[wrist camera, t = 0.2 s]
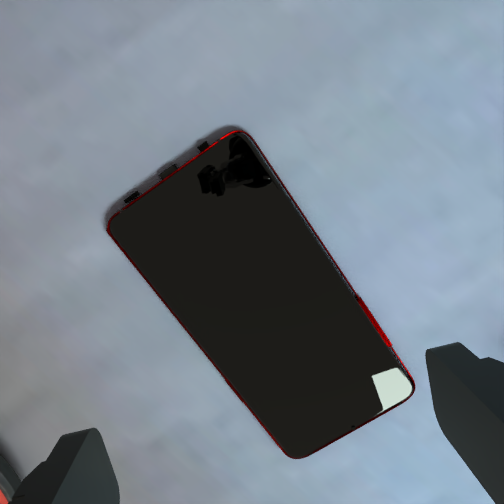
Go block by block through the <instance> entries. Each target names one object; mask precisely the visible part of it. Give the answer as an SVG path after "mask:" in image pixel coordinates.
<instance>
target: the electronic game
mask: <svg viewBox="0 0 504 504" xmlns="http://www.w3.org/2000/svg"><path fill="white" fill-rule="evenodd" d="M20 484H21V481H20V479H19V478H18V476H17V475H16V473H15V472H14V470H13V469H12V468H11V466H10V465H9V464H8V463H7V462H6V461H5V459H4V458H3V457H2V456H1V455H0V504H8V503H9V501H12V496H13V495H14V493H15V492H16V490H17V489H18V487H19V486H20Z"/></svg>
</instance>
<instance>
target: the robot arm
mask: <svg viewBox="0 0 504 504" xmlns="http://www.w3.org/2000/svg"><path fill="white" fill-rule="evenodd" d="M425 356H426V364H427V370H428V376H429V382H430V388H431V394H432V400H433V406H434V411H435V414H436V418H437V420H438V423H439V425H440V428H441V430H442V432H443V433H444V435H445V436H446V438H447V439H448V440H449V442H450V443H451V445H452V446H453V447H454V449H455V450H456V451H457V453H458V454H459V455H460V457H461V458H462V459H463V461H464V462H465V463H466V465H467V466H468V467H469V469H470V470H471V471H472V473H473V474H474V475H475V477H476V478H477V479H478V481H479V482H480V483H481V485H482V486H483V488H484V489H485V490H486V492H487V493H488V494H489V496H490V497H491V498H492V500H493V501H494V502H495V504H504V363H503V362H501V361H498V360H495V359H493V358H490V357H487V358H483V359H479V358H478V357H477V356H476V355H474V354H473V353H472V352H471V351H470V350H468V349H467V348H466V347H465V346H464V345H462V344H461V343H459V342H456V343H452V344H448V345H443V346H439V347H435V348H431V349H427V350H426V355H425ZM119 503H120V494H119V486H118V482H117V479H116V476H115V473H114V471H113V468H112V465H111V462H110V459H109V456H108V454H107V451H106V448H105V445H104V442H103V439H102V437H101V434H100V432H99V431H98V430H97V429H96V428H90V429H86V430H82V431H78V432H73V433H69V434H65V435H62V436H61V437H60V439H59V440H58V442H57V444H56V445H55V447H54V449H53V450H52V452H51V453H50V455H49V457H48V458H47V460H46V461H44V462H41V463H40V464H39V465H38V466H37V467H36V468H35V469H34V470H33V471H32V472H31V473H30V474H29V475H28V476H27V477H26V478H24V479H23V481H22V482H21V484H20V486H19V487H18V489H17V490H16V492H15V493H14V495H13V496H12V501H9V503H8V504H119Z"/></svg>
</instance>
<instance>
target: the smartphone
mask: <svg viewBox="0 0 504 504" xmlns="http://www.w3.org/2000/svg"><path fill="white" fill-rule="evenodd" d="M239 132H242V133H245V134H247V135H248V136H249V137H250V138H251V139H252V141H253V142H254V143H255V145H256V146H257V148H258V149H259V151H260V152H261V154H262V155H263V157H264V158H265V160H266V161H267V163H268V164H269V166H270V167H271V169H272V170H273V172H274V173H275V175H276V176H277V178H278V179H279V181H280V182H281V184H282V185H283V187H284V188H285V190H286V191H287V193H288V194H289V196H290V197H291V199H292V200H293V202H294V203H295V205H296V206H297V208H298V209H299V211H300V212H301V214H302V215H303V217H304V218H305V220H306V221H307V223H308V224H309V226H310V227H311V229H312V230H313V232H314V233H315V235H316V236H317V238H318V239H319V241H320V242H321V244H322V245H323V247H324V248H325V250H326V251H327V253H328V254H329V256H330V257H331V259H332V260H333V262H334V263H335V265H336V266H337V268H338V269H339V271H340V272H341V274H342V275H343V277H344V278H345V280H346V281H347V283H348V284H349V286H350V287H351V289H352V290H353V292H354V293H355V295H356V296H357V298H358V299H356V298H355V296H354V295H353V293H352V292H351V290H350V289H349V287H348V286H347V284H346V283H345V281H344V280H343V278H342V277H341V275H340V274H339V272H338V271H337V269H336V268H335V266H334V265H333V263H332V262H331V260H330V259H329V257H328V256H327V254H326V253H325V251H324V250H323V248H322V247H321V245H320V244H319V242H318V241H317V239H316V238H315V236H314V235H313V233H312V232H311V230H310V229H309V227H308V226H307V224H306V223H305V221H304V220H303V218H302V217H301V215H300V214H299V212H298V211H297V210H296V208H295V207H294V205H293V204H292V202H291V201H290V199H289V198H288V196H287V195H286V193H285V192H284V190H283V189H282V187H281V186H280V184H279V183H278V181H277V180H276V178H275V177H274V175H273V174H272V172H271V171H270V169H269V168H268V166H267V165H266V163H265V162H264V160H263V159H262V157H261V156H260V154H259V153H258V151H257V150H256V148H255V147H254V145H253V144H252V142H251V141H250V140H249V139H248V137H247V136H245V135H244V134H242V133H239ZM197 148H199V150H200V151H201V153H199V154H198V155H196V156H195V157H194V158H192V159H191V160H189V161H188V162H187V163H185V164H184V165H182V166H181V167H180V168H178V169H177V168H176V166H175V165H172V166H171V167H170V168H168V169H167V170H165V171H164V172H163V173H161V174H160V175H158V176H160V177H161V179H162V181H160V182H159V183H157V184H156V185H155V186H153V187H152V188H150V189H149V190H148V191H146V192H145V193H143V194H142V195H141V196H139V197H138V198H136V199H135V200H134V201H132V202H131V203H129V204H128V205H127V206H125V207H124V208H122V209H121V210H120V211H118V212H117V213H116V214H114V215H113V216H112V217H111V218H110V220H109V222H108V229H106V231H107V233H108V234H109V235H110V237H111V238H112V239H113V240H114V242H115V243H116V244H117V245H118V247H119V248H120V249H121V250H122V252H123V253H124V254H125V255H126V257H127V258H128V259H129V260H130V262H131V263H132V264H133V265H134V267H135V268H136V269H137V270H138V271H139V273H140V274H141V275H142V276H143V278H144V279H145V280H146V281H147V283H148V284H149V285H150V286H151V288H152V289H153V290H154V291H155V293H156V294H157V295H158V296H159V298H160V299H161V300H162V301H163V303H164V304H165V305H166V306H167V308H168V309H169V310H170V311H171V313H172V314H173V315H174V316H175V318H176V319H177V320H178V321H179V323H180V324H181V325H182V326H183V327H184V329H185V330H186V331H187V332H188V334H189V335H190V336H191V337H192V339H193V340H194V341H195V342H196V344H197V345H198V346H199V347H200V349H201V350H202V351H203V352H204V354H205V355H206V356H207V357H208V359H209V360H210V361H211V362H212V364H213V365H214V366H215V367H216V369H217V370H218V371H219V372H220V374H221V375H222V376H223V377H224V379H225V381H226V382H227V384H228V385H229V386H230V387H231V389H232V390H233V391H234V392H235V394H236V395H237V396H238V397H239V399H240V400H241V401H242V402H244V404H245V405H246V406H247V407H248V409H249V410H250V411H251V412H252V414H253V415H254V416H255V417H256V419H257V420H258V421H259V422H260V424H261V425H262V426H263V428H264V429H265V430H266V431H267V433H268V434H269V435H270V436H271V438H272V439H273V440H274V441H275V443H276V444H277V445H278V446H279V448H280V449H281V450H282V451H283V452H284V454H285V455H287V456H288V457H290V458H293V459H301V458H305V457H308V456H310V455H312V454H313V453H315V452H317V451H319V450H321V449H322V448H324V447H326V446H328V445H330V444H331V443H333V442H335V441H337V440H339V439H340V438H342V437H344V436H346V435H347V434H349V433H351V432H353V431H355V430H356V429H358V428H360V427H362V426H364V425H365V424H367V423H369V422H371V421H372V420H374V419H376V418H378V417H380V416H381V415H383V414H385V413H387V412H388V411H390V410H392V409H394V408H395V407H397V406H399V405H401V404H402V403H404V402H405V401H407V400H408V399H409V398H410V397H411V396H412V395H413V393H414V391H415V382H414V380H413V378H412V376H411V375H410V373H409V372H408V370H407V369H406V367H405V366H404V364H403V363H402V361H401V360H400V358H399V357H398V355H397V354H396V352H395V351H394V349H393V348H392V344H391V342H390V341H389V339H388V338H387V336H386V335H385V333H384V332H383V330H382V329H381V327H380V326H379V324H378V323H377V321H376V320H375V318H374V317H373V315H372V314H371V312H370V311H369V309H368V308H367V306H366V305H365V303H364V302H363V300H362V299H361V297H360V298H359V296H358V295H357V293H356V292H355V290H354V289H353V287H352V286H351V284H350V283H349V281H348V280H347V278H346V277H345V275H344V274H343V272H342V271H341V269H340V268H339V266H338V265H337V263H336V262H335V260H334V259H333V257H332V256H331V254H330V253H329V251H328V250H327V248H326V247H325V245H324V244H323V242H322V241H321V239H320V238H319V236H318V235H317V233H316V232H315V230H314V229H313V227H312V226H311V224H310V223H309V221H308V220H307V218H306V217H305V215H304V214H303V212H302V211H301V209H300V208H299V206H298V205H297V203H296V202H295V200H294V199H293V197H292V196H291V194H290V193H289V191H288V190H287V188H286V187H285V185H284V184H283V182H282V181H281V179H280V178H279V176H278V175H277V173H276V172H275V170H274V169H273V167H272V166H271V164H270V163H269V161H268V160H267V158H266V157H265V155H264V154H263V152H262V151H261V149H260V148H259V146H258V145H257V143H256V142H255V140H254V139H253V138H252V137H251V136H250V135H249V134H248V133H247V132H245V131H243V130H234V131H232V132H229V133H228V134H226V135H224V136H223V137H222V138H220V139H219V140H217V141H216V142H215V143H213V144H212V145H210V146H209V145H208V144H207V142H204V143H203V144H202V145H200V146H199V147H197ZM137 195H139V193H138V191H136V192H135V193H134V194H132V195H131V196H129V197H128V198H127V199H125V200H124V202H125V203H128V202H129V201H130V200H132V199H133V198H134V197H136V196H137ZM389 347H391V349H392V350H393V352H394V353H395V355H396V356H397V358H398V359H399V361H400V362H401V364H402V365H403V367H404V368H405V370H406V371H407V373H408V374H409V376H410V378H411V381H410V379H409V377H408V376H407V374H406V373H405V371H404V370H403V368H402V367H401V365H400V364H399V362H398V361H397V359H396V358H395V356H394V355H393V353H392V352H391V350H390V349H389Z"/></svg>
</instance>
